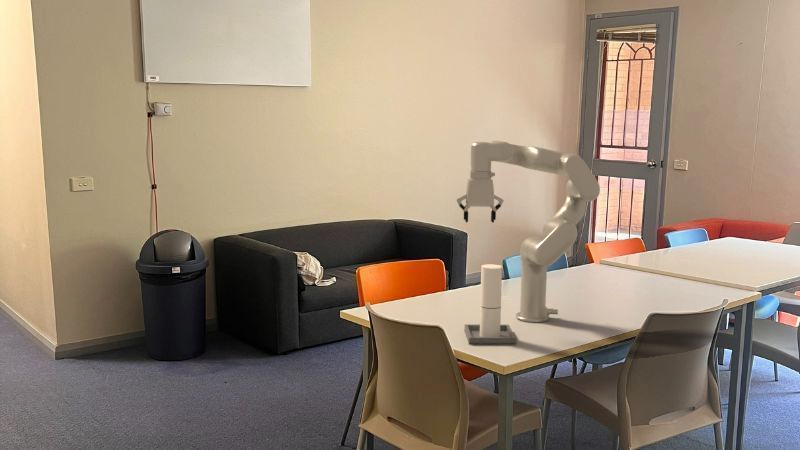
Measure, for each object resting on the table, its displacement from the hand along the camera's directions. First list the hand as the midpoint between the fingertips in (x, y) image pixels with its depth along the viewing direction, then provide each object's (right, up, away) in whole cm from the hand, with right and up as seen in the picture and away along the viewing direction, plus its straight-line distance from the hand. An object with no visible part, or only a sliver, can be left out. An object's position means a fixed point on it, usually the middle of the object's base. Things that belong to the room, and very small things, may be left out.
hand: (479, 221), depth 278 cm
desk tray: (+2, -41, -14) cm, 43 cm away
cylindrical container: (+2, -40, -14) cm, 43 cm away
